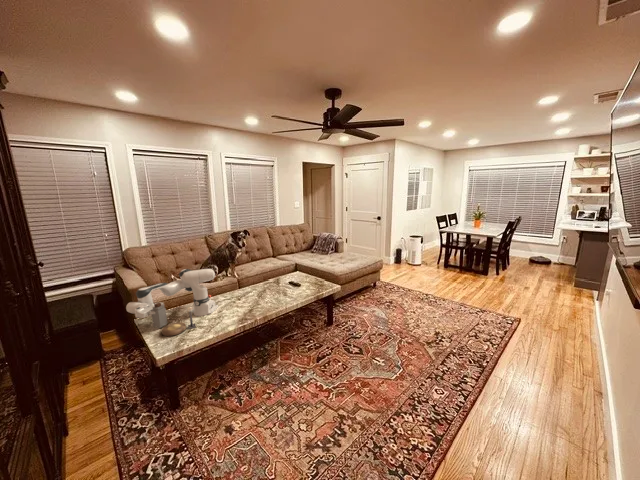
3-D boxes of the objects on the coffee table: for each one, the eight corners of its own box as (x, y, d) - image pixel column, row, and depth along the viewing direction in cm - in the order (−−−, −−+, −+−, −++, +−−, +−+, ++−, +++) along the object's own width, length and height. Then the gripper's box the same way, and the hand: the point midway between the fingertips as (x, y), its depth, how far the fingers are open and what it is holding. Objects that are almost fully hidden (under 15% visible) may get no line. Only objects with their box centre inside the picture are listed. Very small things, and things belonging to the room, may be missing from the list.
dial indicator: (188, 326, 205) (186, 306, 202) (195, 324, 208) (193, 304, 205) (188, 329, 201) (186, 308, 198) (195, 327, 203) (193, 307, 200)
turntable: (173, 324, 208) (172, 321, 207) (190, 326, 204) (190, 322, 204) (157, 334, 192) (156, 331, 192) (175, 336, 189) (175, 333, 188)
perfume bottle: (167, 323, 207) (164, 302, 204) (160, 327, 201) (157, 305, 198) (160, 322, 209) (157, 301, 206) (153, 326, 203) (150, 305, 199)
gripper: (156, 307, 216) (170, 308, 213) (133, 318, 197) (148, 320, 194) (155, 299, 215) (169, 301, 212) (132, 310, 196) (147, 312, 192)
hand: (159, 310), depth 203 cm, fingers closed on perfume bottle, 5 cm apart
